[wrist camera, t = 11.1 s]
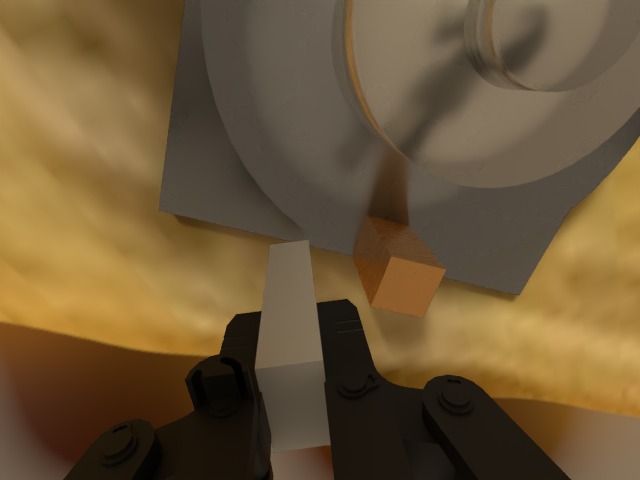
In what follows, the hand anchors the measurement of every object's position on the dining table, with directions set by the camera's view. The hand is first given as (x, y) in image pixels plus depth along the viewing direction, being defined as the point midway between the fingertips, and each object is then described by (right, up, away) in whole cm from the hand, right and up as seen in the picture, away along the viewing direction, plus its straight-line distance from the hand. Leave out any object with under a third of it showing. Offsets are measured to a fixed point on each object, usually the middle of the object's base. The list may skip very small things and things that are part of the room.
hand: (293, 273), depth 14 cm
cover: (+5, +8, -2) cm, 10 cm away
